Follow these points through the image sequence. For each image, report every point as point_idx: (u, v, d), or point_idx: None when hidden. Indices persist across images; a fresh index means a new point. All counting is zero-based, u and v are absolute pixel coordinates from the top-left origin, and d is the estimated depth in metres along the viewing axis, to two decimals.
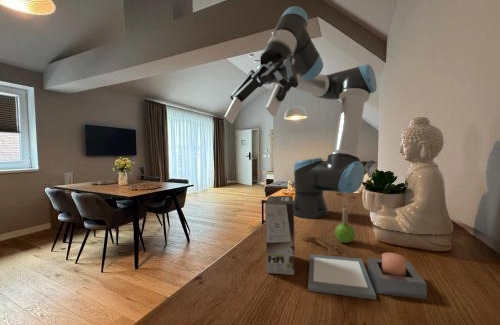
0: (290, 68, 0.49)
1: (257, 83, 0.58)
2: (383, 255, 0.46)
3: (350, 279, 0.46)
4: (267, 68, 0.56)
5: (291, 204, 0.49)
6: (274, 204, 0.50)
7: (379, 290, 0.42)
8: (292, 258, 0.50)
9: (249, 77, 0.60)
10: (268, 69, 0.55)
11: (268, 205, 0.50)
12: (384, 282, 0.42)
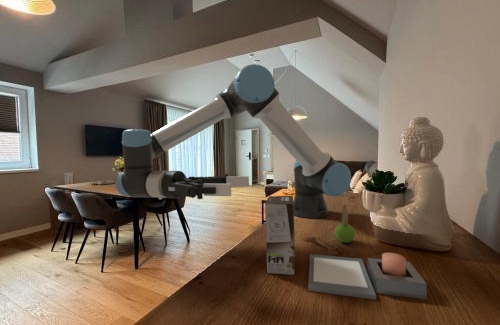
0: (184, 195, 0.52)
1: (204, 181, 0.63)
2: (383, 255, 0.46)
3: (350, 279, 0.46)
4: None
5: (291, 204, 0.49)
6: (274, 204, 0.50)
7: (379, 290, 0.42)
8: (292, 258, 0.50)
9: None
10: None
11: (268, 205, 0.50)
12: (384, 282, 0.42)
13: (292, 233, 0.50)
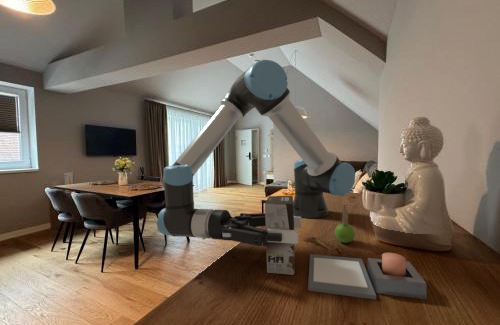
0: None
1: (250, 221, 0.59)
2: (383, 255, 0.46)
3: (350, 279, 0.46)
4: None
5: (291, 204, 0.49)
6: (274, 204, 0.50)
7: (379, 290, 0.42)
8: (292, 258, 0.50)
9: None
10: None
11: (268, 205, 0.50)
12: (384, 282, 0.42)
13: None
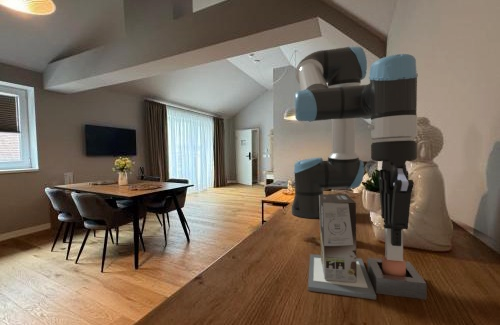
0: (393, 210, 0.41)
1: None
2: (383, 257, 0.46)
3: None
4: None
5: (354, 203, 0.44)
6: (334, 203, 0.45)
7: (379, 290, 0.42)
8: (354, 264, 0.44)
9: None
10: None
11: (327, 204, 0.45)
12: (384, 282, 0.42)
13: (355, 236, 0.44)
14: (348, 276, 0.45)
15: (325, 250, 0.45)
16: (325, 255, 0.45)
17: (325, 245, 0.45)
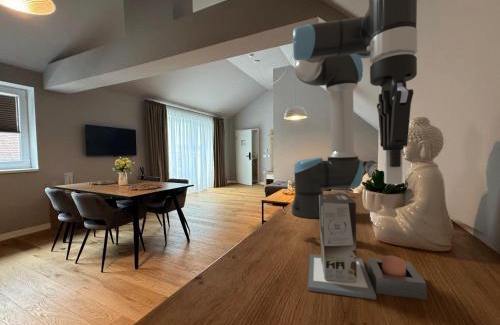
0: (392, 126, 0.40)
1: None
2: (383, 258, 0.46)
3: None
4: None
5: (354, 203, 0.44)
6: (334, 203, 0.45)
7: (379, 290, 0.42)
8: (354, 264, 0.44)
9: None
10: None
11: (327, 204, 0.45)
12: (384, 282, 0.42)
13: (355, 236, 0.44)
14: (348, 276, 0.45)
15: (325, 250, 0.45)
16: (325, 255, 0.45)
17: (325, 245, 0.45)
